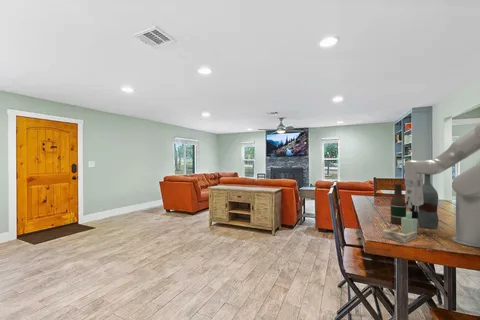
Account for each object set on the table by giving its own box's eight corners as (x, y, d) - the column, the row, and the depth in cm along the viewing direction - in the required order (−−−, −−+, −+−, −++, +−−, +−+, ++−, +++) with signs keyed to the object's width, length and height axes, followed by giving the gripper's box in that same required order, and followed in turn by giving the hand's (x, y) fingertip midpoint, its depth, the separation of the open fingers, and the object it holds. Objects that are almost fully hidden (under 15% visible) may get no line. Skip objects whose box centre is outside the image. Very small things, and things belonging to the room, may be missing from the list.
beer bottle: (409, 225, 133) (409, 184, 133) (396, 225, 133) (395, 184, 133) (400, 222, 141) (400, 182, 141) (387, 222, 141) (387, 182, 141)
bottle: (417, 234, 118) (416, 211, 118) (412, 236, 115) (412, 213, 115) (406, 231, 122) (405, 210, 122) (401, 233, 119) (401, 211, 119)
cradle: (416, 237, 113) (416, 230, 113) (404, 242, 106) (404, 235, 106) (395, 232, 121) (395, 226, 121) (382, 237, 114) (382, 230, 114)
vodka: (421, 228, 128) (420, 174, 128) (414, 223, 137) (414, 173, 137) (442, 229, 125) (441, 174, 125) (434, 225, 134) (433, 173, 134)
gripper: (415, 185, 115) (415, 222, 114) (428, 183, 122) (428, 218, 122) (398, 183, 121) (398, 218, 121) (411, 182, 129) (412, 215, 129)
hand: (413, 218), depth 122 cm, fingers closed
